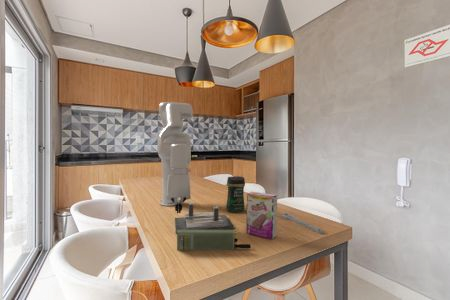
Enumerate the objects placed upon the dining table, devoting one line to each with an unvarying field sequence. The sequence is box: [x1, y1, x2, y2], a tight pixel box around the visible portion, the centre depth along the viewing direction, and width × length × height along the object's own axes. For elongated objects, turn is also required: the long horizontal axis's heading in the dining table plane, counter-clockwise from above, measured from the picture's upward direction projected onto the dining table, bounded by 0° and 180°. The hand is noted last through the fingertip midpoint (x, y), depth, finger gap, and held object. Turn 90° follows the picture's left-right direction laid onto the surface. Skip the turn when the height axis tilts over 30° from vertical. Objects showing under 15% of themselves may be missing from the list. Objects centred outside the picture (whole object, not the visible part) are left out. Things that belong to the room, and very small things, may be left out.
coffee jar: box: [225, 175, 246, 213], centre depth 120 cm, size 10×8×19 cm
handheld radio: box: [176, 229, 252, 252], centre depth 76 cm, size 7×3×25 cm
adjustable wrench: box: [280, 212, 325, 235], centre depth 101 cm, size 25×6×2 cm, turn 19°
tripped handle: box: [188, 201, 194, 216], centre depth 101 cm, size 2×2×6 cm
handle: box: [213, 205, 220, 221], centre depth 95 cm, size 2×2×6 cm
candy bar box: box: [245, 191, 278, 240], centre depth 88 cm, size 11×5×16 cm, turn 59°
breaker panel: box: [174, 211, 235, 235], centre depth 98 cm, size 15×24×4 cm, turn 104°
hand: (178, 212), depth 100 cm, fingers closed
